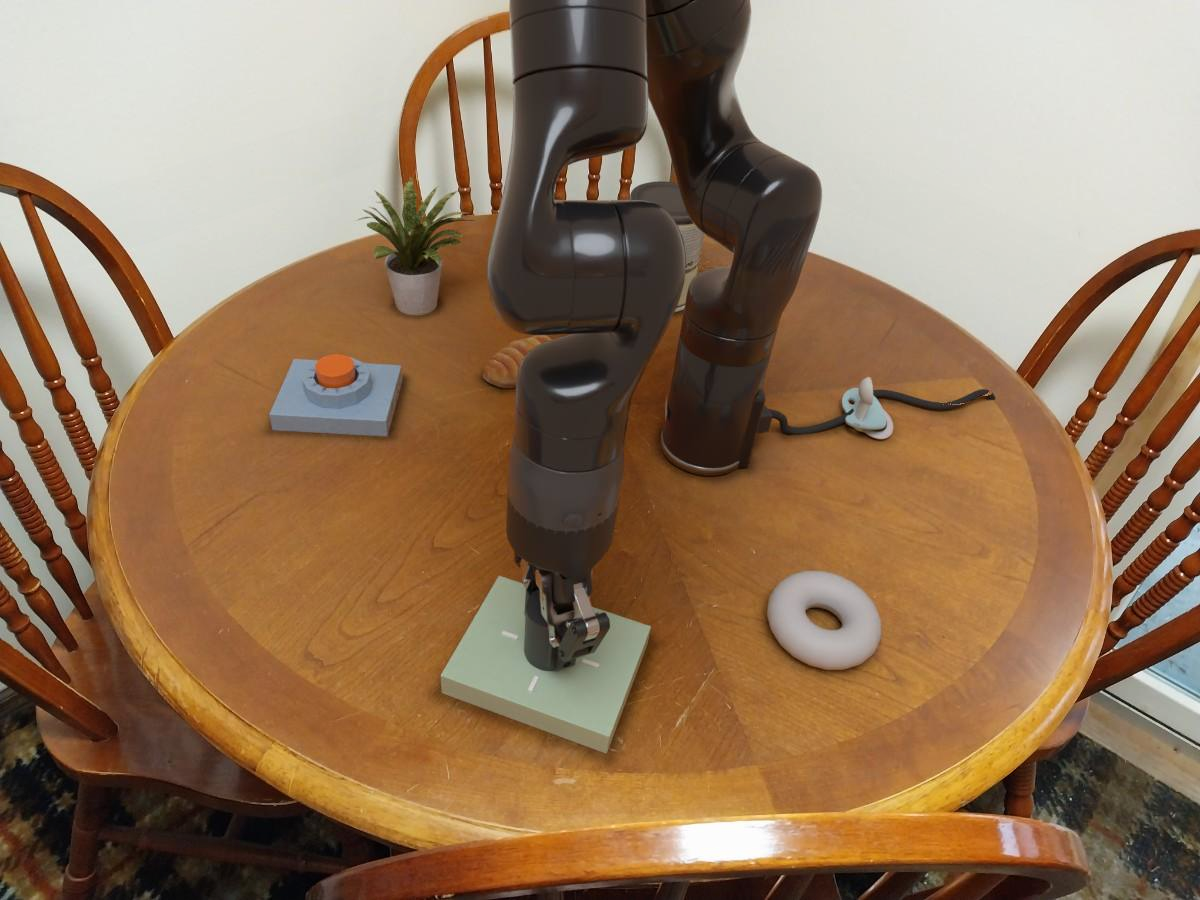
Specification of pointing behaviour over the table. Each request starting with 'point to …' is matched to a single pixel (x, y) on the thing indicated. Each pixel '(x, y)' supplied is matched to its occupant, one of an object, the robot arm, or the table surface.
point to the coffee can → (674, 205)
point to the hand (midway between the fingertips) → (549, 639)
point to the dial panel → (544, 672)
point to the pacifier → (866, 411)
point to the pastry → (510, 361)
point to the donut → (814, 641)
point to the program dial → (536, 633)
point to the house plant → (414, 250)
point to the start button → (335, 371)
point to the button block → (338, 401)
